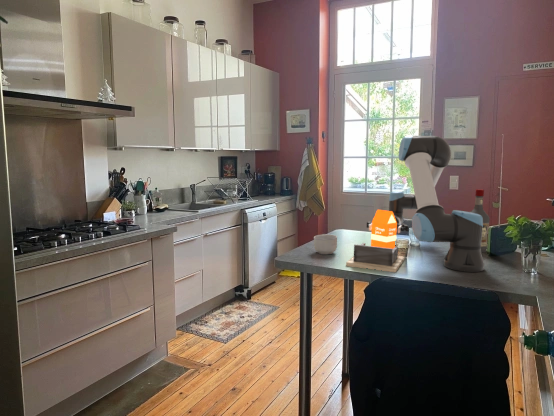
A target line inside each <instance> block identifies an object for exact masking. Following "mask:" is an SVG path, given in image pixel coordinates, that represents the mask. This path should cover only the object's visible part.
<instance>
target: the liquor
mask: <svg viewBox="0 0 554 416" xmlns="http://www.w3.org/2000/svg"><path fill="white" fill-rule="evenodd" d="M484 195H485V189H479V188H476V189H475V195H474V196H475V199H474V201H475V202H474V207H473V209H472V210H471V211H470V212H471V213H475V214H479V215H481V216H482V218H483V228H482V240H481V253H486V252H487V251H486V249H487V250H488V244H487V234H488V235H489V232H488V228H489V229H490V221H491V220H490V219H491V218H490V216H489V214H487V212H486V211H485V210H484Z"/></svg>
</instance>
